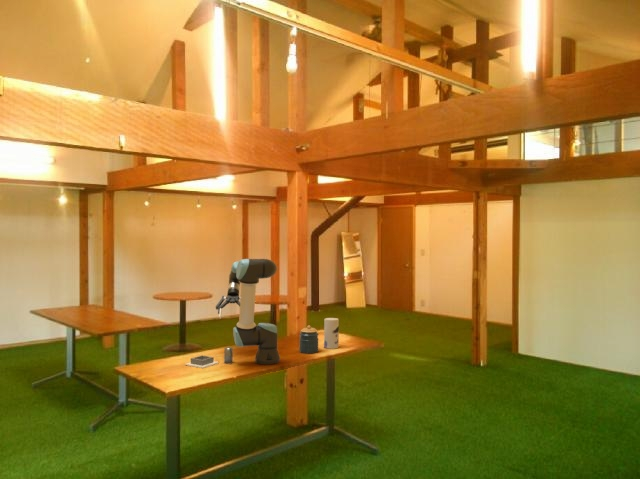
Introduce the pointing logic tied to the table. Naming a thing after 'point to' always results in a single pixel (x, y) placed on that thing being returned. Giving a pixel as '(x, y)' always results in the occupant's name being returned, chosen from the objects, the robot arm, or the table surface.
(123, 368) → the table surface
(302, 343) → the canister
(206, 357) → the square socket
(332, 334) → the container
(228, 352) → the glossy bronze cylinder
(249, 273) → the robot arm
